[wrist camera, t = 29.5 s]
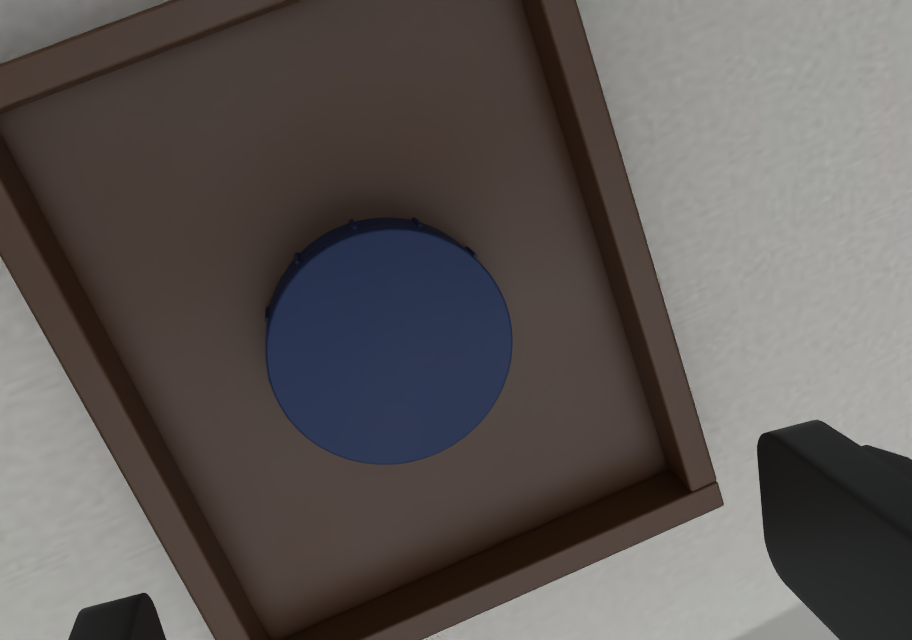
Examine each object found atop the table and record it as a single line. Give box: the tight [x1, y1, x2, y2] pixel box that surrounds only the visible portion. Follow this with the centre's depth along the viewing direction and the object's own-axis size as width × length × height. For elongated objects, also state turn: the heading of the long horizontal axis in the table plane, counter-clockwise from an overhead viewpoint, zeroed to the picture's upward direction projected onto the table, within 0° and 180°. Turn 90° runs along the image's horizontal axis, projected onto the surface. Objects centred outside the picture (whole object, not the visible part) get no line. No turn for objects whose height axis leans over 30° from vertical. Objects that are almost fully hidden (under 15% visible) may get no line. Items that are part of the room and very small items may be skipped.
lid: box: [265, 217, 513, 465], centre depth 21 cm, size 6×6×2 cm
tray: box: [0, 0, 724, 640], centre depth 22 cm, size 17×14×2 cm
